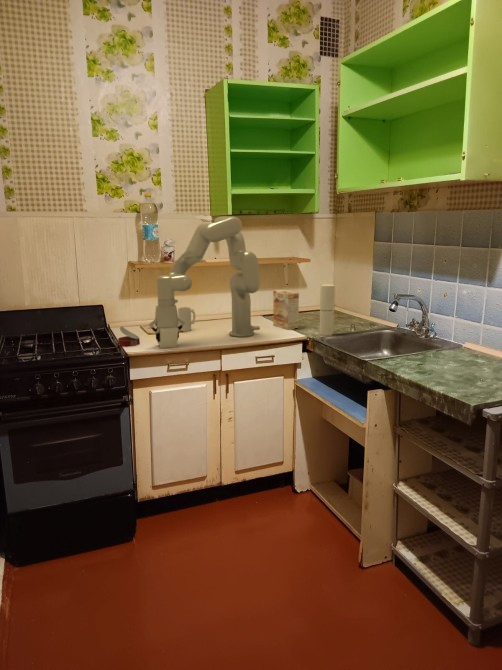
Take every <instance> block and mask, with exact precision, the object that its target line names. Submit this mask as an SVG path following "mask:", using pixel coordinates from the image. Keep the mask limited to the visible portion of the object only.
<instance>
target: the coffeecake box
mask: <svg viewBox="0 0 502 670" xmlns="http://www.w3.org/2000/svg"><path fill="white" fill-rule="evenodd" d="M272 294H273V299H272V300H273V301H272V303H273V307H272V308H273V311H272V312H273V320H272V321H273V326H275V327H278V328H281V329H283V330H287V329H288V330H287V331H290V330H289V329H292V330H296V329H295V328H298V329H299V315H300V314H299V311H300V310H299V303H300V300H299V298H300V293H299V292H295V291H292V290H287V289H274V290H273V293H272Z"/></svg>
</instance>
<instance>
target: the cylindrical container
mask: <svg viewBox="0 0 502 670" xmlns="http://www.w3.org/2000/svg"><path fill="white" fill-rule="evenodd" d="M319 288H320V291H319V292H320V293H319V294H320V295H319V297H320V298H319V301H320V302H319V331H318V332H319V335H320V334H321V335H320V336H325V335H330V336H333V335H334V330H335V328H334V327H335V298H336V295H335V294H336V293H335V292H336V285H335V284H329V283H327V284H326V283H325V284H320V287H319ZM332 334H333V335H332Z"/></svg>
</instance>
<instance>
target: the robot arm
mask: <svg viewBox="0 0 502 670" xmlns="http://www.w3.org/2000/svg"><path fill="white" fill-rule="evenodd" d="M242 228H243V222H242V221H241V219H240V218H238V217H237V216H228V215H227V216H224V215H223V216H222V215H221V216H218V217H216V218H215V219H214V220H213V223H212V222H211V223H201V224H198V225H197V227H196V229H195V231H194V233H193V235H192V237H191V239H190V241H189V242H188V243H189V244H188V245H187V247H186V249H185V251H184V252H183V253H182V254H181V255H180V256H179V257H178V258H177V260H175V262H174V264H173V265H172V267H171V269H170V270H169V273H168V275H163V274H162V275H158V276H157V279H156V285H157V286H156V287H157V290H156V291H157V305H156V306H155V312H154V313H155V315H154V320H152V321H151V322H150V323H149V324H148V326H149V327H150V328H151V330H152V331H153V332H154V333H155V340H156V342H157V341H158V342H160V333H159V331H160V328H168V327H177V329H178V339H177V341H179V338H180V332H181V331H180V329H181V328H182V327H183V325H184V324H185V322H184V321H182V320H181V319H179V318H178V308H177V305H176V304H177V303H178V301H179V300H178V299H175V292H176V291H177V292H186V291H189V290H190V289H191V288H192V286H193V280H192V279H191V277H190V276H188V275H186V274H187V272H188V270H189V269H190V268H191V267H192V266H194V265H196V264H197V263H199V262H200V261H202V260H203V259H204V256H205V254H206V252H207V251H208V248H209V247H210V244H211V243H218V242H221V241H223V240H225V241H226V245H227V250H228V259H229V265H230V267H231V268H232V269H234V270H237V271H238V272H235V273H233V274H232V275H231V276H230V278H229V288H230V294H231V330H230V331H229V333H228V335H229V336H231V337H235V338H247V337H252V336H253V335H255V333H254V331H259V330H260V329H261V327H260V326H259V325H258V326H257V325H252V323H251V322H252V321H251V320H252V316H251V315H252V309H251V308H252V307H251V306H252V305H251V302H252V301H251V300H252V299H251V295H250V294H255V293H257V292H258V291H259V289H260V286H261V275H260V265H259V259H258V257H257V255H256V254H255V253H254V252H252V251H248V250H247V249H246V248H247V247H246V242H245V237H244V234H243V233H242ZM179 322H180V323H181V324H180V325H179ZM154 325H155V326H156V328H155V327H154ZM158 342H157V343H158Z"/></svg>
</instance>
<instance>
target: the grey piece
mask: <svg viewBox="0 0 502 670" xmlns="http://www.w3.org/2000/svg"><path fill="white" fill-rule="evenodd" d="M177 327H178V326H177ZM177 327H168V328H160V331H159V333H160V342H158V341H157V340H156V342H157V344H158V346H159V348H160V349H164V348H165V349H167V348H177V347H178V340H179V338H178V329H177ZM177 339H178V340H177Z"/></svg>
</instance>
